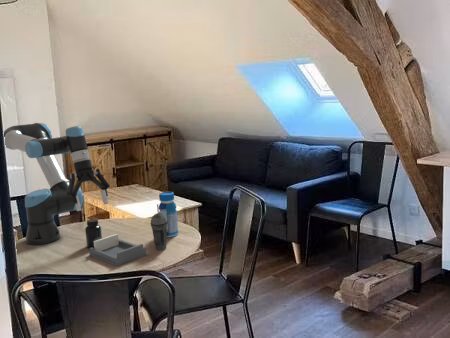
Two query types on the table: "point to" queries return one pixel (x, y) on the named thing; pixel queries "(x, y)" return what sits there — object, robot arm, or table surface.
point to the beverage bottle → (169, 212)
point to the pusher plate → (106, 242)
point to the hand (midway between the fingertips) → (93, 207)
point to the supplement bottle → (92, 232)
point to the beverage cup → (159, 230)
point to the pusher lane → (119, 253)
